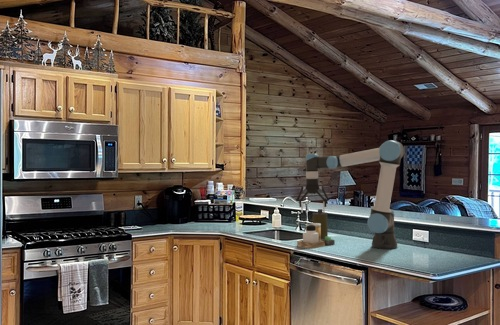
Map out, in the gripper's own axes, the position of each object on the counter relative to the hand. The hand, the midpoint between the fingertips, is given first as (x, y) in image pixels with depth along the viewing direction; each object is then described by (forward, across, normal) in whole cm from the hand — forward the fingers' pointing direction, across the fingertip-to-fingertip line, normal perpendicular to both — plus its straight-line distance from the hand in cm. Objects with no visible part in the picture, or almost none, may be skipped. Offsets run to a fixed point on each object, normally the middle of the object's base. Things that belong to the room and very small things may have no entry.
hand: (313, 212), depth 303 cm
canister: (+21, -3, -32) cm, 38 cm away
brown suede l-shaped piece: (+21, 0, -4) cm, 21 cm away
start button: (+20, -8, -6) cm, 23 cm away
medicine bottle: (+20, +2, 0) cm, 20 cm away
